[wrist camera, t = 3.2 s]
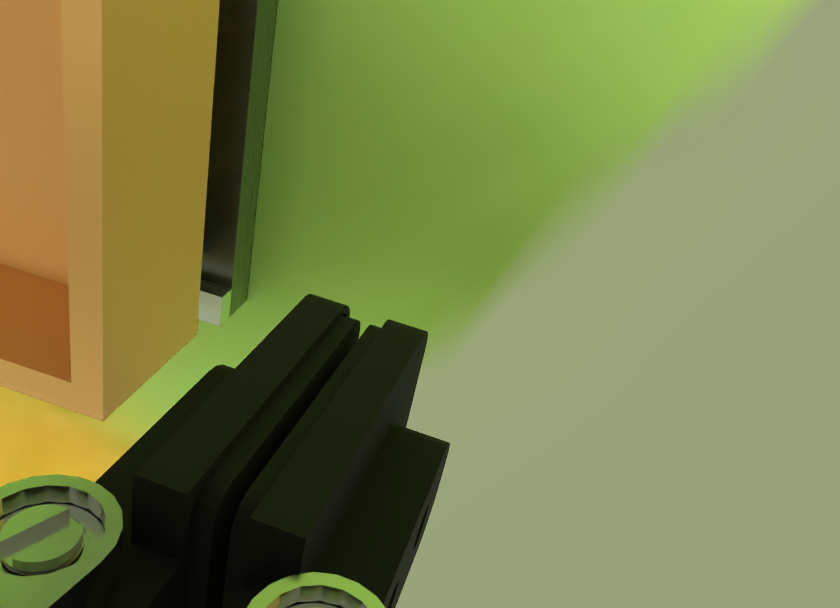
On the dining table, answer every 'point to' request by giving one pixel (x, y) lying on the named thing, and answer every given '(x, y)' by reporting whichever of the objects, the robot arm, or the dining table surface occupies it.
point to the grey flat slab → (235, 153)
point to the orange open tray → (101, 192)
